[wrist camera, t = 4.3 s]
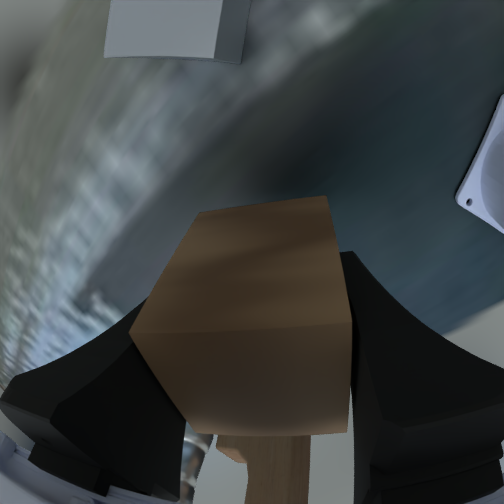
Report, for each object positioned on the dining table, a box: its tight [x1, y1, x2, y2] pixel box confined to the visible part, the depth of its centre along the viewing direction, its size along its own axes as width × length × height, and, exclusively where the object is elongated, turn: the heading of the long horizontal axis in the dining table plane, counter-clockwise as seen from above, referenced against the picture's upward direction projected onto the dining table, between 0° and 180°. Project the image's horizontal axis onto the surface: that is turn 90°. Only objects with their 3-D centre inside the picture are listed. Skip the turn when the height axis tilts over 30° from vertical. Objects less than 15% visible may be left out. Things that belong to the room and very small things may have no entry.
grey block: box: [104, 0, 251, 64], centre depth 11 cm, size 4×4×6 cm
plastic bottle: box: [177, 422, 214, 504], centre depth 24 cm, size 6×7×20 cm
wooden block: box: [216, 435, 311, 504], centre depth 24 cm, size 9×4×18 cm, turn 119°
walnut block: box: [129, 195, 352, 436], centre depth 9 cm, size 4×4×6 cm
